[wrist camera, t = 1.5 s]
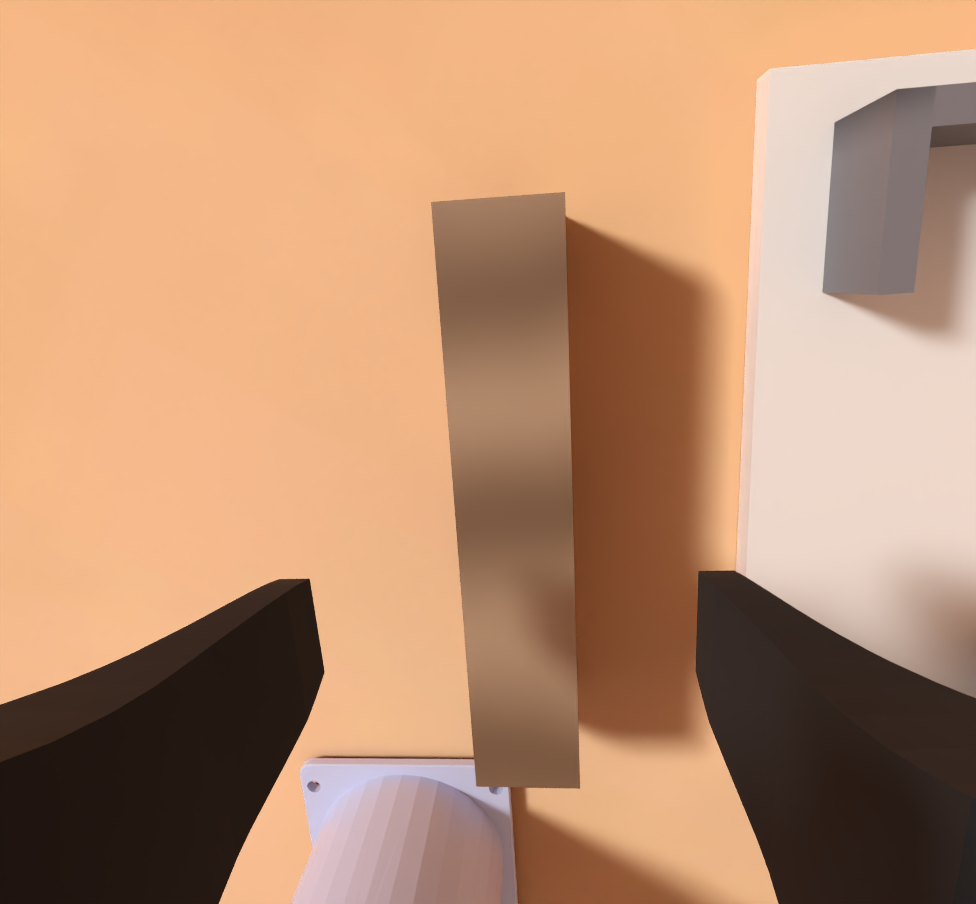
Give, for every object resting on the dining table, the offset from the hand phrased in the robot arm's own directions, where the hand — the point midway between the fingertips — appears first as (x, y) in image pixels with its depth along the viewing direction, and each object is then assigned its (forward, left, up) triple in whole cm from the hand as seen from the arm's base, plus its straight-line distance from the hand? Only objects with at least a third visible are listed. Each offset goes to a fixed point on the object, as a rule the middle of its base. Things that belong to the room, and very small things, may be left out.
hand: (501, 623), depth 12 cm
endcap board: (0, -12, -10) cm, 15 cm away
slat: (0, 0, -10) cm, 10 cm away
